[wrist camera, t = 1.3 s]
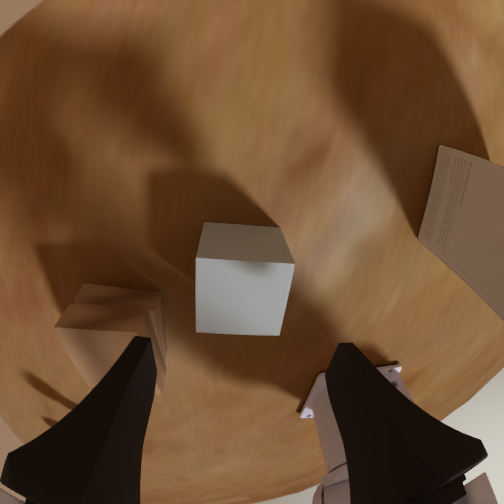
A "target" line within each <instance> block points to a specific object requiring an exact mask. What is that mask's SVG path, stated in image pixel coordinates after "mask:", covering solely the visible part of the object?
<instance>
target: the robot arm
mask: <svg viewBox="0 0 504 504" xmlns="http://www.w3.org/2000/svg"><path fill="white" fill-rule="evenodd" d="M401 368H402V367H401V365H400V364H397V365H391V366H384V367H375V366H374V365H373V364H372V363H371V362H370V361H369V360H368V359H367V357H366V356H365V355H364V354H363V353H362V352H361V351H360V350H359V349H358V348H357V347H356V346H355V345H354V344H353V343H339V344H338V347H337V349H336V351H335V354H334V356H333V358H332V360H331V363H330V365H329V367H328V369H327V372H326V373H321V374H319V375H318V376H317V378H316V380H315V383H314V385H313V387H312V389H311V391H310V394H309V396H308V398H307V400H306V402H305V404H304V406H303V408H302V410H301V413H300V418H312V417H314V419H315V423H316V428H317V432H318V436H319V440H320V444H321V448H322V453H323V457H324V461H325V465H326V470H327V474H326V475H323V476H322V480H323V483H322V484H320V485H319V486H318V487H317V489H316V492H315V493H314V496H313V504H498V503H497V500H496V497H495V495H494V492H493V490H492V487H491V485H490V482H489V480H488V477H487V475H486V473H482V474H481V475H480V476H478V477H476V478H475V479H474V480H472V481H471V482H469V483H467V484H466V485H463V481H465V480H466V477H465V475H464V474H465V473H466V472H468V471H469V470H471V469H472V468H473V467H475V466H476V465H478V464H479V463H480V462H482V461H483V460H484V459H485V458H487V456H488V454H487V452H486V449H485V448H484V445H483V443H482V442H481V440H480V439H477V438H474V437H471V436H469V435H466V434H464V433H461V432H459V431H457V430H455V429H453V428H451V427H449V426H447V425H445V424H444V423H442V422H440V421H439V420H437V419H436V418H434V417H432V416H431V415H429V414H428V413H426V412H425V411H424V410H422V409H421V408H420V407H418V406H417V405H416V404H414V402H413V400H412V398H411V396H410V394H409V392H408V390H407V388H406V386H405V384H404V382H403V380H402V378H401V376H400V374H399V372H400V370H401ZM156 378H157V368H156V363H155V358H154V352H153V347H152V341H151V338H150V337H142V336H135V337H133V339H132V340H131V342H130V343H129V344H128V346H127V347H126V349H125V350H124V351H123V353H122V354H121V355H120V357H119V358H118V359H117V361H116V362H115V363H114V364H113V366H112V367H111V368H110V369H109V371H108V372H107V373H106V374H105V376H104V377H103V378H102V379H101V380H100V382H99V383H98V384H97V385H96V386H95V387H94V388H93V389H92V391H91V392H90V393H89V394H88V395H87V396H86V397H85V398H84V399H83V400H82V401H81V402H80V403H79V404H78V405H77V406H76V407H75V408H74V409H73V410H72V411H71V412H69V413H68V414H67V415H66V416H65V417H64V418H62V419H61V420H60V421H59V422H58V423H56V424H55V425H54V426H52V427H51V428H50V429H48V430H47V431H45V432H44V433H42V434H41V435H40V436H38V437H37V438H35V439H34V440H32V441H30V442H29V443H27V444H25V445H23V446H21V447H19V448H18V449H16V450H14V451H12V452H10V453H8V455H7V458H6V460H5V464H4V467H3V471H2V475H1V478H0V482H1V483H2V484H3V485H5V486H6V487H8V488H10V489H11V490H13V491H15V492H16V493H18V494H20V495H22V496H24V497H25V498H26V501H25V502H24V501H22V500H19V499H18V498H16V497H14V496H13V495H11V494H9V493H8V492H6V491H4V490H2V489H1V488H0V504H140V477H141V460H142V449H143V443H144V438H145V433H146V429H147V424H148V420H149V416H150V411H151V407H152V403H153V399H154V394H155V386H156Z"/></svg>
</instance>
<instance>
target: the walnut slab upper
mask: <svg viewBox="0 0 504 504" xmlns="http://www.w3.org/2000/svg"><path fill="white" fill-rule="evenodd" d="M54 328H55V330H56V332H57V334H58V336H59V338H60V340H61V341H62V343H63V345H64V347H65V349H66V351H67V352H68V354H69V356H70V358H71V360H72V361H73V363H74V365H75V366H76V368H77V370H78V371H79V373H80V375H81V376H82V378H83V379H84V381H85V383H86V384H87V386H88V387H93V388H94V387H95V386H96V385H97V384H98V383H99V382H100V380H101V379H102V378H103V377H104V376H105V374H106V373H107V372H108V371H109V369H110V368H111V367H112V366H113V364H114V363H115V362H116V361H117V359H118V358H119V357H120V355H121V354H122V353H123V351H124V350H125V349H126V347H127V346H128V344H129V343H130V342H131V340H132V339H133V337H135V336H142V337H150V338H151V341H152V347H153V352H154V358H155V363H156V368H157V378H156V386H155V394H162V391H163V385H164V379H165V374H166V365H165V362H164V359H163V356H162V353H161V350H160V347H159V344H158V341H157V338H156V334H155V331H154V328H153V324H152V321H151V317H150V314H149V310H148V307H147V305H94V304H69V305H68V306H67V308H66V309H65V311H64V312H63V314H62V316H61V317H60V319H59V320H58V322H57V323H56V325H55V326H54Z"/></svg>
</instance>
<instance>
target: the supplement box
mask: <svg viewBox="0 0 504 504" xmlns="http://www.w3.org/2000/svg"><path fill="white" fill-rule="evenodd" d="M418 241H419V242H420V243H421V244H423V245H424V246H425V247H426V248H427V249H428V250H430V251H431V252H432V253H433V254H434V255H435V256H437V257H438V258H439V259H440V260H441V261H442V262H443V263H445V264H446V265H447V266H448V267H449V268H450V269H451V270H452V271H454V272H455V273H456V274H457V275H458V276H459V277H460V278H461V279H462V280H463V281H464V282H465V283H466V284H467V285H469V286H470V287H471V288H472V289H473V290H474V291H475V292H476V293H477V294H478V295H479V296H480V297H481V298H482V299H483V300H484V301H485V302H486V303H487V304H488V305H489V306H490V307H491V308H492V309H493V310H494V311H495V313H496V314H497V315H498V316H499V317H500V318H501V319H502V320H503V321H504V166H501V165H499V164H496V163H494V162H491V161H488V160H485V159H483V158H480V157H477V156H474V155H471V154H468V153H465V152H462V151H459V150H456V149H453V148H449V147H446V146H443V145H440V146H439V149H438V154H437V160H436V165H435V170H434V175H433V179H432V184H431V189H430V193H429V197H428V201H427V205H426V209H425V213H424V216H423V220H422V224H421V227H420V231H419V235H418Z"/></svg>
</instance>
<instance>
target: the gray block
mask: <svg viewBox="0 0 504 504" xmlns="http://www.w3.org/2000/svg"><path fill="white" fill-rule="evenodd" d="M294 267H295V262H294V260H293V258H292V255H291V253H290V250H289V248H288V245H287V243H286V241H285V238H284V236H283V233H282V231H281V229H280V228H279V227H267V226H254V225H240V224H226V223H211V222H204V225H203V229H202V233H201V237H200V242H199V246H198V251H197V255H196V332H201V333H217V334H237V335H273V336H279V335H280V331H281V327H282V322H283V318H284V313H285V309H286V305H287V300H288V295H289V291H290V286H291V281H292V277H293V272H294Z"/></svg>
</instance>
